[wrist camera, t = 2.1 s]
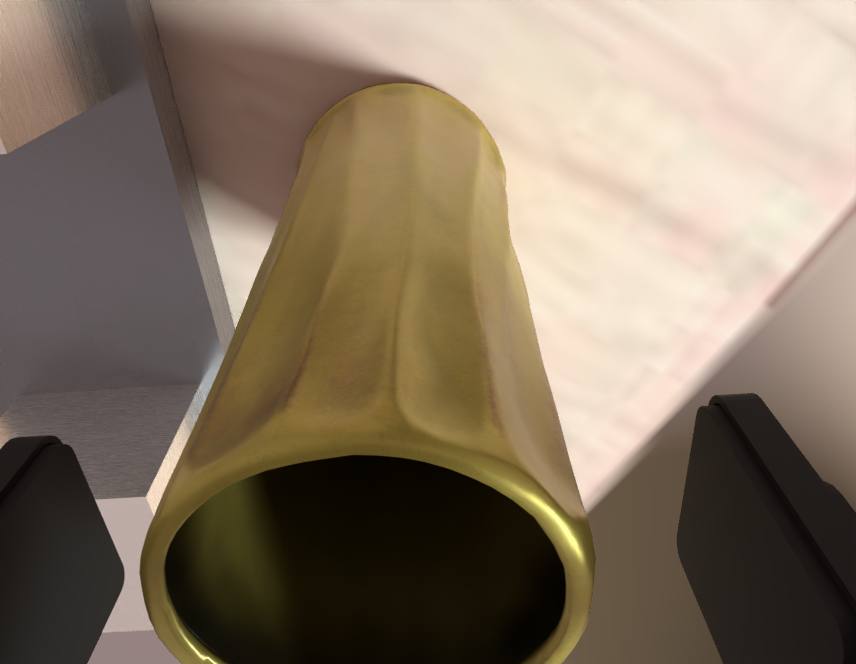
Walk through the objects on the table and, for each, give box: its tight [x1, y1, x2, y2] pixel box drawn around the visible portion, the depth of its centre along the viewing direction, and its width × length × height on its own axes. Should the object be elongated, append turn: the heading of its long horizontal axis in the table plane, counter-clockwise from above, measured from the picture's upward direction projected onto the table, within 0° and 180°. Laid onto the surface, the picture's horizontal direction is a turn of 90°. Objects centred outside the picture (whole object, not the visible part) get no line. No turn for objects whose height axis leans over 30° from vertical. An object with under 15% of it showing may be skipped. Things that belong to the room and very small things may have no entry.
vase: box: [139, 83, 596, 664], centre depth 14 cm, size 6×6×14 cm
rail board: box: [0, 0, 235, 633], centre depth 18 cm, size 20×8×6 cm, turn 4°
